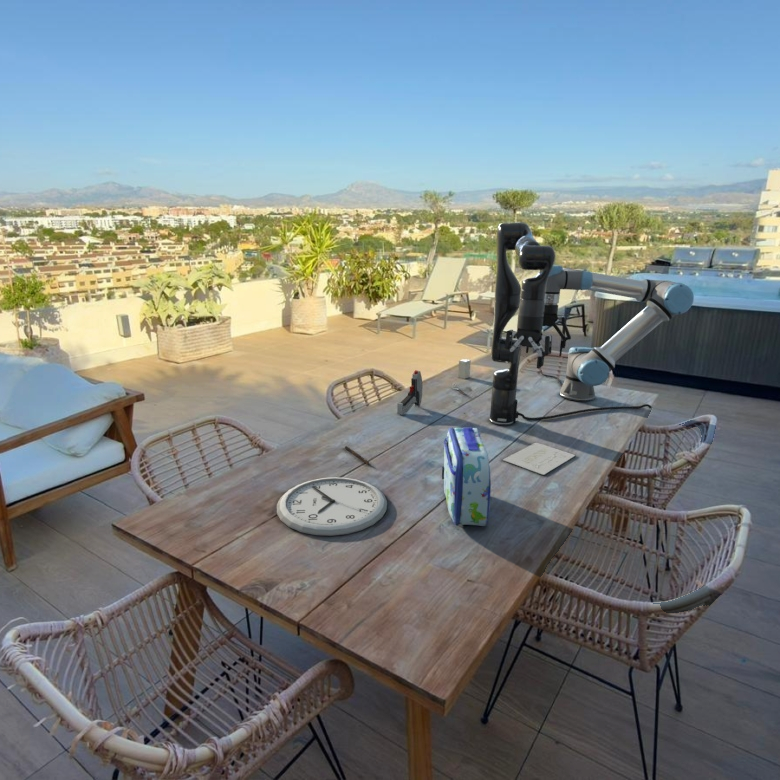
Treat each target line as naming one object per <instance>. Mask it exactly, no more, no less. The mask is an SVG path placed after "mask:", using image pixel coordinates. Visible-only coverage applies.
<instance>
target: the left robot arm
mask: <svg viewBox="0 0 780 780" xmlns="http://www.w3.org/2000/svg"><path fill="white" fill-rule="evenodd" d="M495 241H496V242H495V243H496V244H495V245H496V246H495V247H496V274H495V286H494V287H495V288H494V307H493V308H494V309H493V313H494V315H493V327H492V328H493V331H492V339H491V348H490V356H491V360H492V361H493V362H494V363H500V364H509V366H508V367H506V368H501V369H497V370H495V371H494V372H493V374H492V388H491V399H490V410H489V411H490V413H489V414H490V415H489V422H490V423H491V424H494V425H497V426H511V425H513V424H516V423H517V419H519V416H520V417H521V418H522V419H524V420H527V421H539V420H540V421H541V420H550V419H554V418H561V417H564V416H570V415H575V414H580V413H588V412H592V411H593V412H595V411H605V410H637V409H642V408H645V407H648V408H649V409H652V406H651V405H650V404H648V403H644V404H641V405H635V406H634V405H631V406H606V407H605V406H604V407H593V408H586V409H581V410H575V411H569V412H564V413H563V412H562V413H559V414H553V415H548V416H547V415H546V416H537V417H528V416H525V415H524V414H523V413H521V412H519V411H518V399H517V388H518V377H519V367H520V361H521V353H522V347H525V348H526V347H529V348H530V349H531V348H533V350H534V351H535V352H536V354H537V355H538V356H537V359H536V360H537V361H536V368H537V369H541V368H542V367H543V366H544V363H545V357H548V356H549V355H552V347H553V346H552V345H553V335H552V334H548V335H544V334H543V327H544V326H543V318H544V308H545V304H544V299H545V290H546V284H547V281H548V277H549V275H550V272H551V270H552V267H553V265H555V261H556V251H555V249H554V248H553V246H550V245H541V244H540V243H539V242H538V241H537V240H536V239H535V238H534V235H533V232H532V230H531V228H530V226H529V225H528V224H527V223H525V222H502V223H500V224H499V225H498V226H497V229H496V239H495ZM507 251H514V252H515V254H516V256H517V263H518V266H519V268H520V269H521V270H525V271H539V272H538V273H537V275H536V276H533V277H528V278H524V279H523V280H522V282H521V284H520V281H519V279H518V278H517V276H516V274H515V273H514V272H513V270H512V268H511V266H510V264H509V261H508V256H507ZM516 313H517V324H516V330H514V329H509V330H506V334H505V338H504V337H503V332H504V330H505V328H506V327H507V325H508V323H509V322H510V320H512V318H513V317H514V315H515V314H516ZM514 337H516V339H515V338H514ZM542 340H543V343H544V347H543V345H542V343H541V341H542Z"/></svg>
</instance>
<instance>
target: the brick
mask: <svg viewBox="0 0 780 780" xmlns="http://www.w3.org/2000/svg"><path fill="white" fill-rule="evenodd" d="M471 361H472V360H471V359H466V358H463V359H460V360H459V361H458V373H457V378H458V379H463V380H465V379H468V378H470V377H471Z"/></svg>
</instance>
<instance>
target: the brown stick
mask: <svg viewBox="0 0 780 780" xmlns="http://www.w3.org/2000/svg"><path fill="white" fill-rule="evenodd" d="M344 449H345V450H346V451H348V452H349V453H350V454H352V455H353V456H355V457H356V458H358V459H359V460H361V461H362V462H363V463H364V464H366V465H370V461H368V460H367V459H366V458H364V457H363V456H361V455H360V454H358V453H357V452H356V451H354V450H353V449H352V448H350V447H348V446H347V445H345V446H344Z"/></svg>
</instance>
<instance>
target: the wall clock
mask: <svg viewBox="0 0 780 780" xmlns="http://www.w3.org/2000/svg"><path fill="white" fill-rule="evenodd" d="M387 509H388V500H387V498H386V496H385V494H384V493H383V492H382V491H381V490H380V489H379V488H377V487H376V486H374V485H372V484H371V483H369V482H365V481H362V480H359V479H355V478H349V477H338V476H337V477H335V476H333V477H332V476H331V477H322V478H317V479H312V480H307V481H305V482H302V483H299V484H297V485H295V486H293V487H292V488H290V489H288V490H287V491H286V492H285V493H284V494H283V495H281V496H280V498H279V499H278V502H277V503H276V515H277V517H278V518H279V520H280V521H281V522H282V523H283V524H285V525H286V526H287V527H288V528H290V529H293V530H295V531H297V532H299V533H303V534H308V535H312V536H327V537H328V536H329V537H331V536H332V537H333V536H342V535H350V534H352V533H356V532H361V531H363V530H366V529H368V528H369V527H372V526H373V525H375V524H376V523H378V522H379V521H380V520H381V519H382V518H383V517H384V516H385V514H386V512H387Z"/></svg>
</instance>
